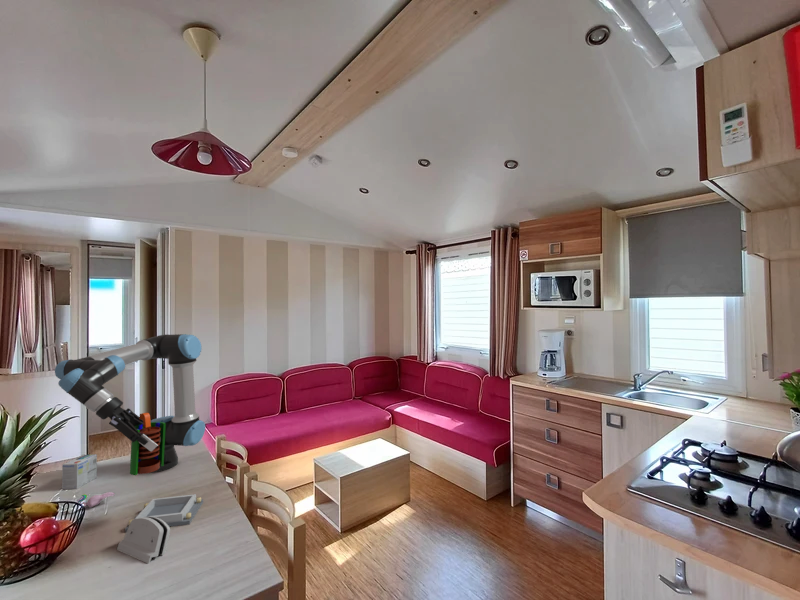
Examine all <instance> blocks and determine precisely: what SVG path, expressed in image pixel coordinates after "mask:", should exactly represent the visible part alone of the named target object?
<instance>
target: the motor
mask: <svg viewBox="0 0 800 600" xmlns="http://www.w3.org/2000/svg"><path fill="white" fill-rule="evenodd" d="M139 417H140V420H141V419H142V420H143V424H142V425H136V426H134V427H135V428H136V429H137V431H138V432H140V433H141V434H142V435H143V434H144V435H146V436H147V437H148V438H150V439H151V440H152V441H154V442H155V443H156V444H157V445H158V446H157V447H156V448H155V449H154V450H153V451H152V452H151V451H149V450H148V449H147V448H145V447H144V446H143V445H141V444H140V443H139V441H137V440H136V441H135V442H132V441H131V440H130V441H131V442H130V443H131V444H130V445H131V446H130V461H129V462H130V463H129V474H130V475H131V476H137V475H143V474H144V475H145V474H150V473H154V472H153V471H156V470H158V469H159V468H160V465H161V466H164V447H165V428H166V423H163V422H151V415H150V413H149V412H143V413H139ZM142 435H141V436H142ZM159 436H160V437H161V442H159V440H160V437H159Z"/></svg>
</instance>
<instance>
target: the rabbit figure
mask: <svg viewBox="0 0 800 600" xmlns="http://www.w3.org/2000/svg"><path fill="white" fill-rule="evenodd" d="M115 494H116V493H115V492H112V491H111V492H110V491H107V492H104V493H102V494H95V495H93V496H90V497H89V499H88V501H87V502H85V501H86V500H87V498H88V495H87V494H85V493H83V494H82V495H81V498H80V499H78V500H77V502H76V503H81V502H83V503H82V504H84V506H85V507H87V506H88V508H91V507H92V508H93V506H94V507H95V506H97V505H99V504H100V503H101V501H103V500H104V499H107V498H109V497H114V496H115Z"/></svg>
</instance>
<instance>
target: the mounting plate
mask: <svg viewBox="0 0 800 600" xmlns="http://www.w3.org/2000/svg"><path fill="white" fill-rule="evenodd" d="M203 504H204V499H203V498H202V497H199V496H198V497H197V494H196V493H194V494H188V495H187V494H186V495H184V494H183V495H177V496H168V497H158V498H152V500H150V501H149V502H146V503H144V504H143V509H142V510H141V511H140V512H139V513H138V514H137V515H136V516H135V517H134V518H133V519H136V518H140V517H156V518H159V519H161V520H163V521H164V522H165V523H166V524H167V525H168V526H169V527H170V526H172V527H176V526H177V527H178V525H180V526H185V525H187V524H188V525H190V524H191V523H192V521H193V520H194V518H195V517H196V515H197V514H198V512H199V510H200V509H201V507H202V505H203ZM133 519H132V518H131V519H129V520H128V525H127V526H126V527H125V529H124V533H126V532H127V530H128V528H129V525H130V523H131V521H132V520H133ZM192 519H193V520H192ZM170 528H171V527H170Z"/></svg>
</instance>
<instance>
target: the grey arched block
mask: <svg viewBox="0 0 800 600" xmlns="http://www.w3.org/2000/svg"><path fill="white" fill-rule="evenodd" d="M128 525H129V524H128ZM170 534H171V527H169V526H168V525H167V524H166V523H165V522H164V521H163V520H161V519H159V518H156V517H140V518H136V519H134V518H133V520H132V521H131V523H130V525H129V528H128V530H127V532H125V535H124V537H123V539H121V541H120V542H119V543H118V545H117V548H116V550H117V551H118V552H121V553H123V554H125V555H127V556H130V557H132V558H135V559H137V560H139V561H141V562H143V563H146V564H150V563H151V561H152V558H157V557H158V556H159V555H160V556H164V555H165V554H166V551H167V547H168V543H169V538H170Z"/></svg>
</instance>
